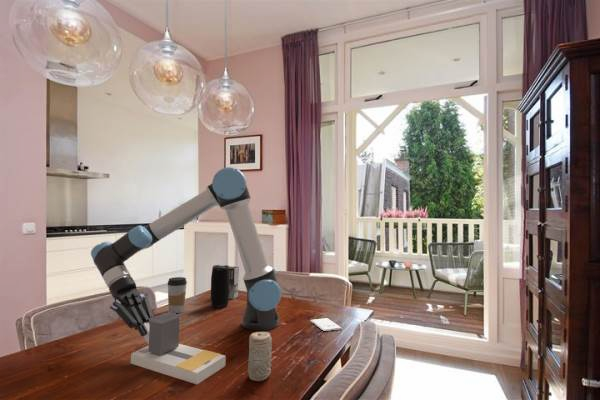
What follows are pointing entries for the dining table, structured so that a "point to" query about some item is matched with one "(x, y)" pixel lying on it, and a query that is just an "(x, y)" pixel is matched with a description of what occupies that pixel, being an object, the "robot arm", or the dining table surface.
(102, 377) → the dining table surface
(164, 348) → the switch tab
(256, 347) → the carving
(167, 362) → the switch panel
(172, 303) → the coffee cup
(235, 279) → the coffee box
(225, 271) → the portable speaker
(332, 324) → the external hard drive
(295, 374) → the dining table surface
